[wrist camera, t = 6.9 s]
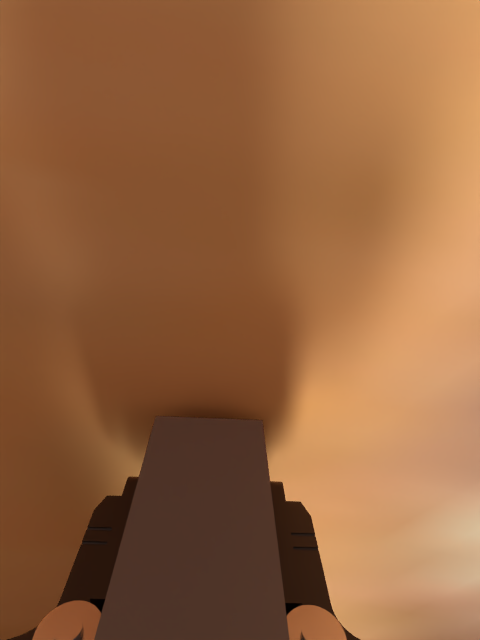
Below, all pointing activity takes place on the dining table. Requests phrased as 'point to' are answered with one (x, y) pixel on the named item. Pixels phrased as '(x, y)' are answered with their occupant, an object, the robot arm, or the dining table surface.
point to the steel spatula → (199, 539)
